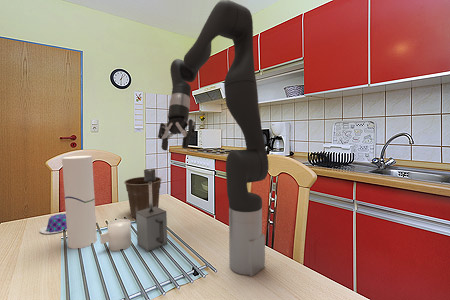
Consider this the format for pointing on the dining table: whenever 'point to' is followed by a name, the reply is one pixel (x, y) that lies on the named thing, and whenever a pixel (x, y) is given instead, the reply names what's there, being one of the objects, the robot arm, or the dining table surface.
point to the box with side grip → (151, 228)
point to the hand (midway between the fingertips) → (174, 149)
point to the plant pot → (142, 194)
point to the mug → (117, 235)
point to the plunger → (150, 184)
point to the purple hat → (55, 224)
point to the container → (79, 201)
